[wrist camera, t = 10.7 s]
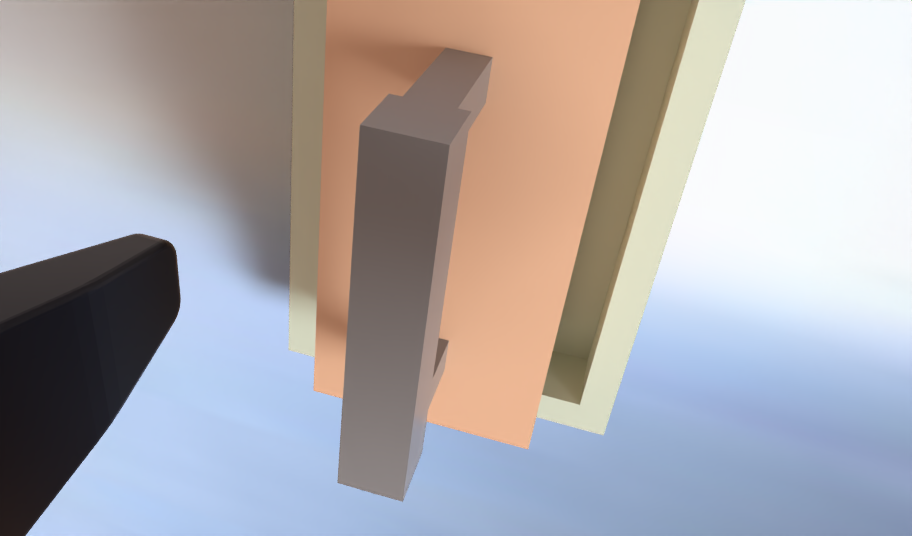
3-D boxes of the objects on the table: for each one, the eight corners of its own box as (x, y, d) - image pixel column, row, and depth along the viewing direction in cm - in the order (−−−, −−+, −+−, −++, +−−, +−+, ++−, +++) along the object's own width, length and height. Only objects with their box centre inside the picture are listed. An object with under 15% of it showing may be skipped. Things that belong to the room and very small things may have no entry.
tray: (782, -167, 15) (796, -157, 13) (611, 375, 23) (603, 434, 21) (346, -238, 16) (297, -239, 14) (323, 300, 24) (288, 350, 22)
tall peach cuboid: (656, -73, 16) (630, 51, 9) (559, 319, 21) (495, 588, 14) (418, -116, 17) (218, -32, 10) (383, 275, 22) (240, 512, 15)
